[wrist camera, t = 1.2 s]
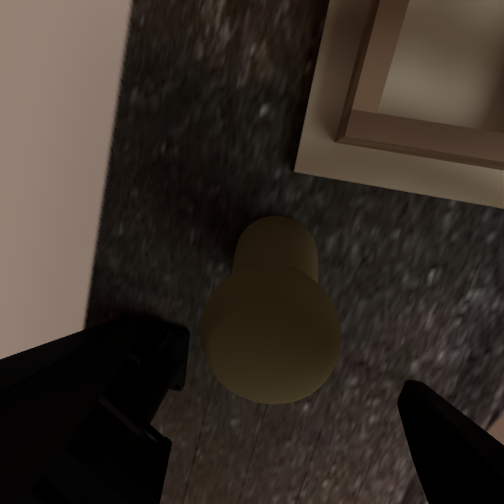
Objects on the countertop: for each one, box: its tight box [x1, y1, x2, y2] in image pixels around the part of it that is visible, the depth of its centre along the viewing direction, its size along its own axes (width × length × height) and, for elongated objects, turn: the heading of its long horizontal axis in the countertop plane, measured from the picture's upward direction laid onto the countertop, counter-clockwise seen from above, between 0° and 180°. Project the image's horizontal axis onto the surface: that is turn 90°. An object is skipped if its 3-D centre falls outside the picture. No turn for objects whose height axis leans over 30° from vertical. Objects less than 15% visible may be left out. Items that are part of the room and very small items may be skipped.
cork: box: [200, 216, 341, 405], centre depth 13 cm, size 6×6×11 cm
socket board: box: [294, 0, 504, 209], centre depth 12 cm, size 14×14×4 cm
